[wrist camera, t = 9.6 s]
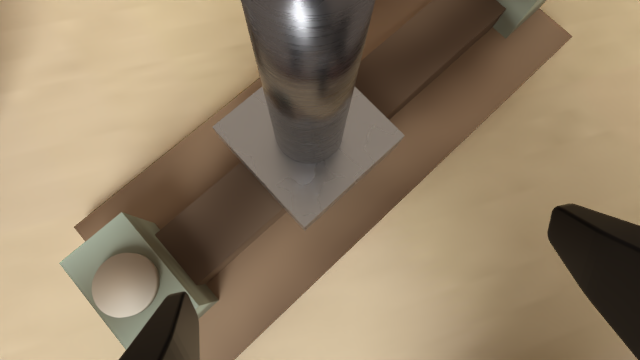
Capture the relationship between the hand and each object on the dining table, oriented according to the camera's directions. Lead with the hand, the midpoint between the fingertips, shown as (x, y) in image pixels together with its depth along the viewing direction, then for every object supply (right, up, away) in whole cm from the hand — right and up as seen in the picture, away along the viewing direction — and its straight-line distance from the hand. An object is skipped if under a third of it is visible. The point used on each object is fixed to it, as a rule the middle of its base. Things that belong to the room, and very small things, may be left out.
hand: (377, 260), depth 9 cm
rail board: (0, +5, +13) cm, 13 cm away
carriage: (-2, +4, +9) cm, 10 cm away
